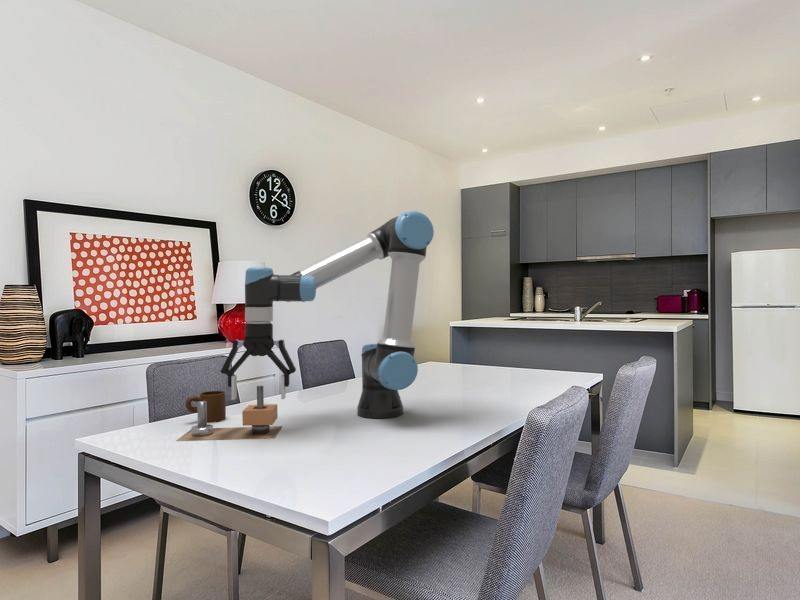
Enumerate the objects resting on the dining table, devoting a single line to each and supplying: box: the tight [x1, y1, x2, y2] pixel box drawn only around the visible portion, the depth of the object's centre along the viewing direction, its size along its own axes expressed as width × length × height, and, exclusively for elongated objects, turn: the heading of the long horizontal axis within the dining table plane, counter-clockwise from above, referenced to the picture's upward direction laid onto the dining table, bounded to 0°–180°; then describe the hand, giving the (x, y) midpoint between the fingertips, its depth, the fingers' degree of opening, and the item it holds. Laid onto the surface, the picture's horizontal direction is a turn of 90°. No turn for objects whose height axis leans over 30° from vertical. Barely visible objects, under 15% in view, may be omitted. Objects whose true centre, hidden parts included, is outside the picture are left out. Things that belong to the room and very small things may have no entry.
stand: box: [251, 385, 271, 435], centre depth 146 cm, size 5×5×13 cm
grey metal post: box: [191, 401, 214, 437], centre depth 145 cm, size 6×6×9 cm
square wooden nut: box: [241, 403, 278, 427], centre depth 146 cm, size 8×8×4 cm
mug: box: [184, 390, 227, 424], centre depth 160 cm, size 12×8×9 cm, turn 130°
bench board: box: [175, 425, 283, 442], centre depth 145 cm, size 26×13×1 cm, turn 93°
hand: (258, 398), depth 145 cm, fingers open, 13 cm apart
